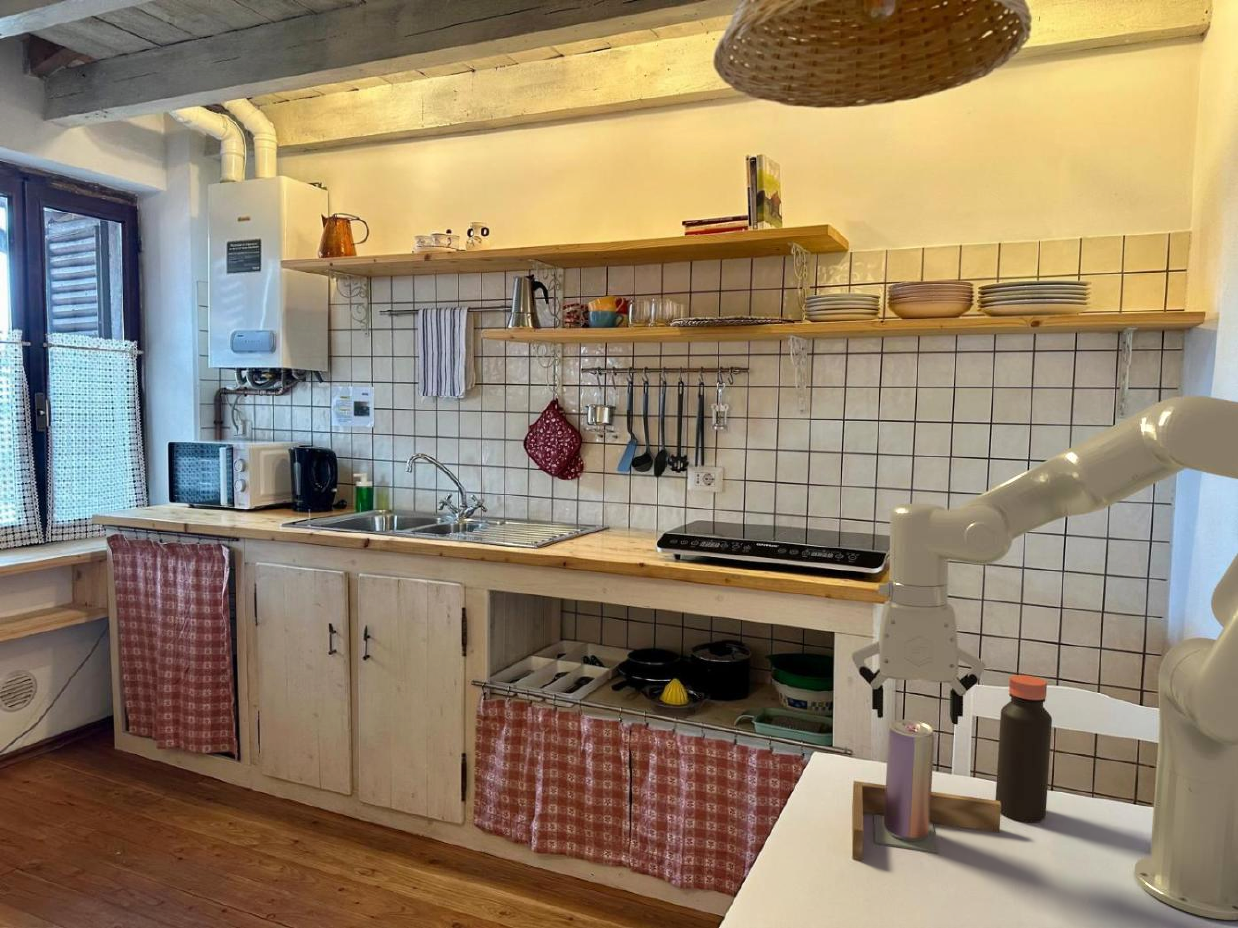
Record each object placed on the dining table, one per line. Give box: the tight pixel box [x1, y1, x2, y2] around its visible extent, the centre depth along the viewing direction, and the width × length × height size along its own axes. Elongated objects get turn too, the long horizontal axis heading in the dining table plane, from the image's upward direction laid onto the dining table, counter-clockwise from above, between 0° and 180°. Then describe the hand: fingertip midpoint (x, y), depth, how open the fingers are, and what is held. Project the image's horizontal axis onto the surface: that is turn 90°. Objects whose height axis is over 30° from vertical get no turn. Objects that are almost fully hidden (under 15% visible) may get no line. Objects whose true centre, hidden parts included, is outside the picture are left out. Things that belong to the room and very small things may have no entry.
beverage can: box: [883, 719, 935, 841], centre depth 117 cm, size 6×6×15 cm
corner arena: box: [851, 780, 1002, 861], centre depth 115 cm, size 20×15×4 cm
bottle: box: [994, 674, 1053, 823], centre depth 124 cm, size 7×7×20 cm
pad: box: [873, 814, 939, 854], centre depth 117 cm, size 8×8×1 cm
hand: (916, 717), depth 116 cm, fingers open, 9 cm apart
